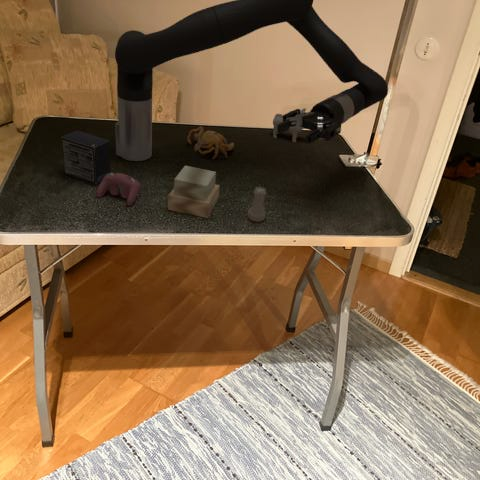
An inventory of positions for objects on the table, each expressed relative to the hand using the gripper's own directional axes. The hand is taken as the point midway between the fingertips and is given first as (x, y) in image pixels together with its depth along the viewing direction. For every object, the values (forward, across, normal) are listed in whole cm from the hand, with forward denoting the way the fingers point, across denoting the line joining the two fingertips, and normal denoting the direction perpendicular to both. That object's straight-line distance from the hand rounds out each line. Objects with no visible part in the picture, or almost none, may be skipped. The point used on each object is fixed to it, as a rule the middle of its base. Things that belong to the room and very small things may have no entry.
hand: (292, 134), depth 117 cm
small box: (+33, -42, +12) cm, 55 cm away
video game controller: (+33, -28, +13) cm, 45 cm away
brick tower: (+21, -14, +15) cm, 29 cm away
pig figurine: (-34, -29, +23) cm, 50 cm away
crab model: (-6, -36, +19) cm, 41 cm away
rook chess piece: (+13, -1, +18) cm, 22 cm away
